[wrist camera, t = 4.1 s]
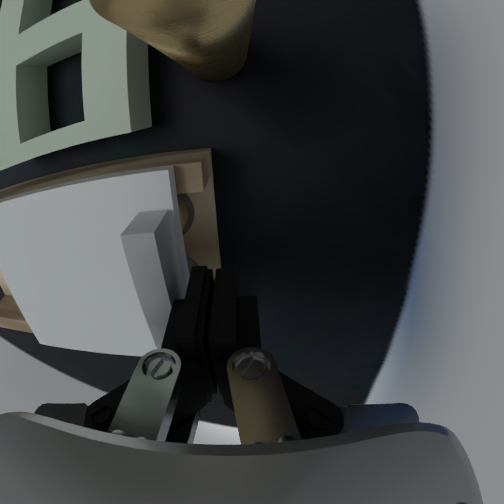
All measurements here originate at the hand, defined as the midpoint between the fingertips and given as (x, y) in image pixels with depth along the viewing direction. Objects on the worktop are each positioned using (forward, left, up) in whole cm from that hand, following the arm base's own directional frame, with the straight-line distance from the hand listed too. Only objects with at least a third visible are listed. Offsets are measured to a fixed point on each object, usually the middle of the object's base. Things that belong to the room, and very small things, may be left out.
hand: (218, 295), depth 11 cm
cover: (0, -7, -2) cm, 8 cm away
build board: (-13, -8, -6) cm, 16 cm away
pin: (-10, 0, -6) cm, 11 cm away
